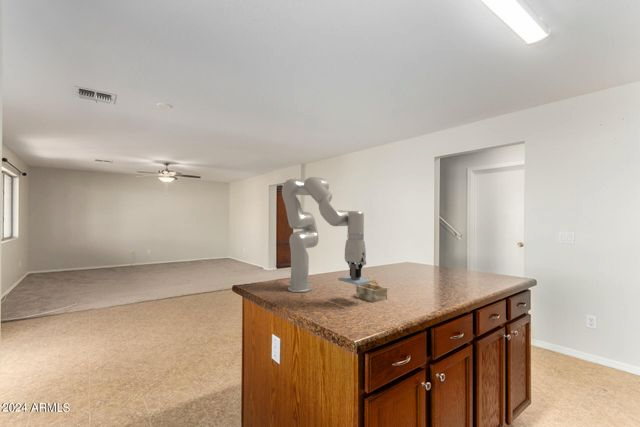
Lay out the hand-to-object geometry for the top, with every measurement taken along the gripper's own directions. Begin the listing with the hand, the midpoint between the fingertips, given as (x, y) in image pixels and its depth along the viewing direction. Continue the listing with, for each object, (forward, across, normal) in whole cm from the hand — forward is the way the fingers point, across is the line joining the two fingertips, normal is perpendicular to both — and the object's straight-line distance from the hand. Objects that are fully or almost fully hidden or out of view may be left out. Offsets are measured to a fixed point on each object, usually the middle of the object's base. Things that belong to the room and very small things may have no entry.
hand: (355, 276), depth 150 cm
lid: (+2, 0, 0) cm, 2 cm away
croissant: (+13, -14, +23) cm, 30 cm away
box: (+13, 0, +11) cm, 17 cm away
